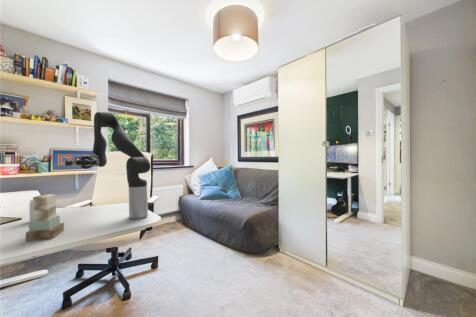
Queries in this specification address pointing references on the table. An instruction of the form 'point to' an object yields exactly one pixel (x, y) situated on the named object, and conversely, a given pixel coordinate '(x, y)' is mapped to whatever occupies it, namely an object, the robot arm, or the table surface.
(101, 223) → the table surface
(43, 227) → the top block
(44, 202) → the ash block
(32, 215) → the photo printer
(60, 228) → the bottom block
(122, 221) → the table surface
